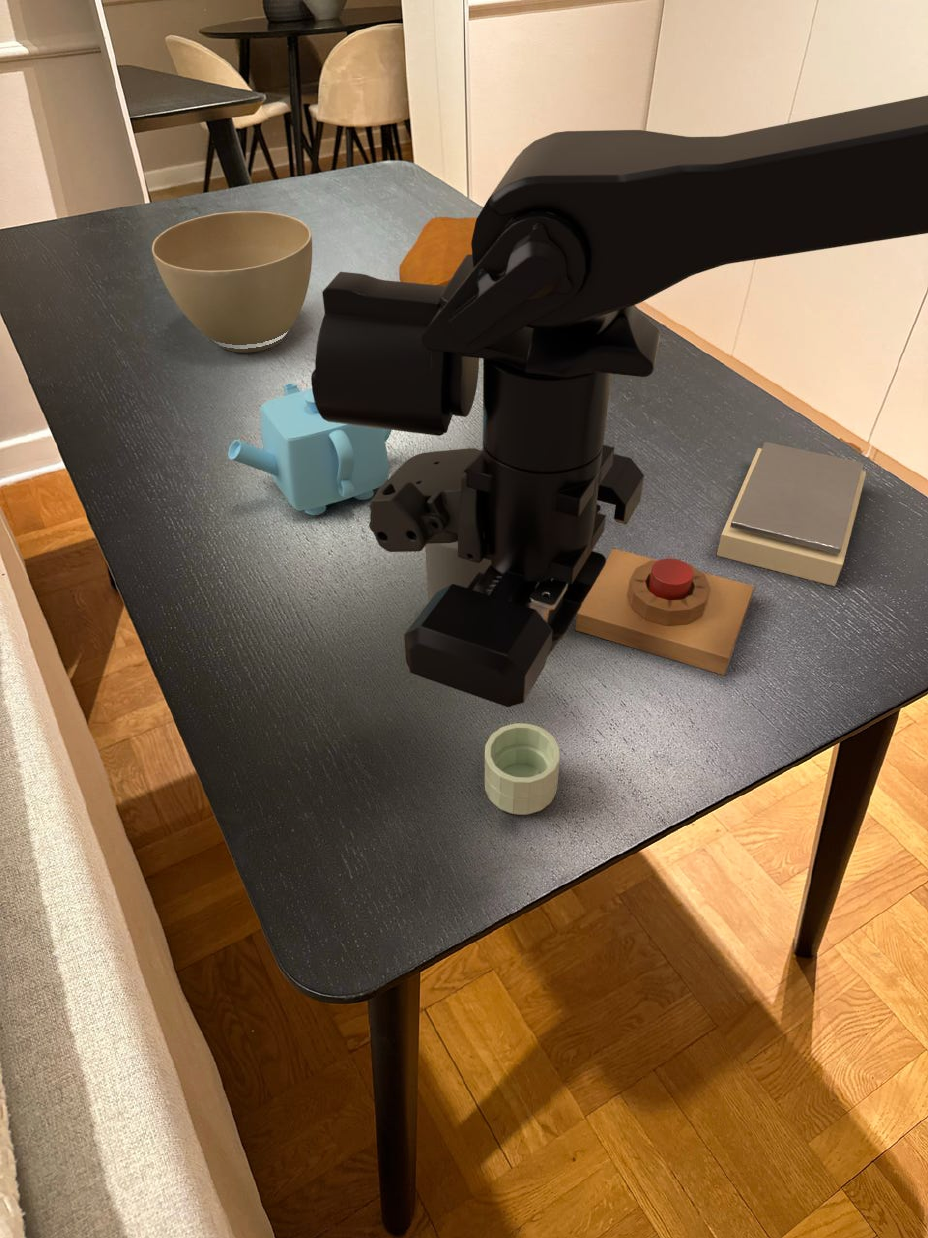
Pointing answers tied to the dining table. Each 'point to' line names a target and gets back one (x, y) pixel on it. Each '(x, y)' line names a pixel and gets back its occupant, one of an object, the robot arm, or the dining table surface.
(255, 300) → the deep tan bowl
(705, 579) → the block
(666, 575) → the tare button
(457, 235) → the bread
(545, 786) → the mint green cup
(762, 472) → the pan
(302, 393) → the teapot
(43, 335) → the dining table surface
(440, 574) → the bottle
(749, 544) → the scale
